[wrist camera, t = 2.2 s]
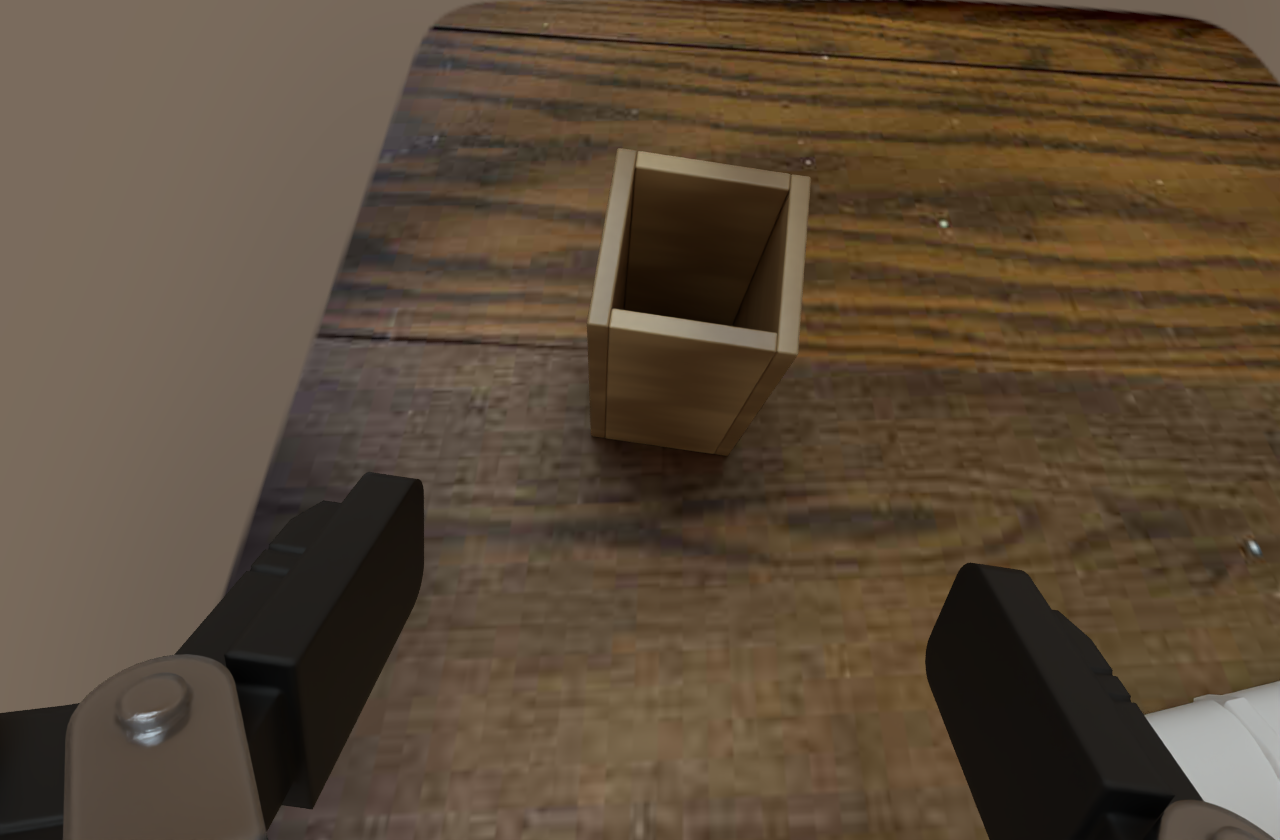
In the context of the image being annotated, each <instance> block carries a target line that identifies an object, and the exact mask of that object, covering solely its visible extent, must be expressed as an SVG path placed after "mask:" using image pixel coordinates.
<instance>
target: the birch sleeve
mask: <svg viewBox="0 0 1280 840" xmlns="http://www.w3.org/2000/svg"><path fill="white" fill-rule="evenodd" d="M810 184H811V179H810V177H806V176H800V175H791V176H790V174H787V173H780V172H773V171H767V170H760V169H754V168H747V167H740V166H734V165H727V164H721V163H714V162H707V161H701V160H694V159H688V158H681V157H674V156H668V155H661V154H655V153H648V152H642V151H639V152H638V153H637V151H635V150H628V149H622V148H618V150H617V154H616V159H615V165H614V171H613V176H612V182H611V188H610V194H609V199H608V205H607V211H606V216H605V222H604V228H603V234H602V239H601V245H600V251H599V256H598V262H597V268H596V274H595V279H594V285H593V291H592V296H591V302H590V308H589V313H588V319H587V340H588V368H589V396H590V423H591V436H594V437H601V438H604V437H605V438H607V439H614V440H621V441H628V442H635V443H642V444H648V445H655V446H662V447H669V448H676V449H683V450H689V451H696V452H703V453H710V454H714V453H715V454H717V455H724V456H728V455H729V454H730V452H731V451H732V449H733V448H734V446H735V445H736V443H737V442H738V441H739V439H740V438H741V436H742V435H743V433H744V432H745V430H746V429H747V428H748V426H749V425H750V423H751V422H752V420H753V419H754V417H755V416H756V415H757V413H758V412H759V410H760V409H761V407H762V406H763V405H764V403H765V402H766V400H767V399H768V397H769V396H770V394H771V393H772V392H773V390H774V389H775V387H776V386H777V384H778V383H779V381H780V380H781V379H782V377H783V376H784V374H785V373H786V371H787V370H788V368H789V367H790V366H791V364H792V363H793V361H794V360H795V358H796V357H797V355H798V349H799V335H800V322H801V308H802V294H803V280H804V266H805V253H806V239H807V225H808V211H809V197H810Z"/></svg>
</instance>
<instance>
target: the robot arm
mask: <svg viewBox="0 0 1280 840" xmlns="http://www.w3.org/2000/svg"><path fill="white" fill-rule="evenodd" d="M423 569H424V490H423V485H422V482H421V481H420V480H419V479H413V478H406V477H399V476H393V475H386V474H379V473H372V472H368V473H366V474H364V475H363V476H362V478H361V479H360V480H359V481H358V483H357V484H356V485H355V487H354V488H353V489H352V490H351V492H350V493H349V494H348V496H347V497H346V498H345V499H344V501H343V502H342V503H337V502H330V501H322V502H320V503H318V504H317V505H315V506H313V507H312V508H310V509H308V510H306V511H305V512H303V513H301V514H300V515H298V516H296V517H294V518H293V519H291V520H290V521H289V522H288V523H287V525H286V526H285V527H284V528H283V529H282V530H281V532H280V533H279V534H278V535H277V536H276V537H275V539H274V540H273V541H272V542H271V543H270V544H269V549H268V550H264V551H263V552H262V554H261V555H260V556H259V557H258V558H257V559H256V561H255V562H254V563H253V564H252V565H251V570H250V571H246V572H245V573H244V575H243V576H242V577H241V578H240V579H239V580H238V582H237V583H236V584H235V585H234V586H233V587H232V588H231V590H230V591H229V592H228V593H227V594H226V595H225V597H224V598H223V599H222V600H221V601H220V602H219V604H218V605H217V606H216V607H215V608H214V609H213V611H212V612H211V613H210V614H209V615H208V616H207V618H206V619H205V620H204V621H203V622H202V623H201V625H200V626H199V627H198V628H197V629H196V631H194V633H193V634H192V635H191V636H190V637H189V638H188V640H187V641H186V642H185V643H184V644H183V645H182V647H181V648H180V649H179V650H178V651H177V652H176V653H175V655H170V656H163V657H159V658H155V659H150V660H148V661H145V662H142V663H138V664H136V665H134V666H131V667H129V668H127V669H124V670H122V671H121V672H119V673H117V674H115V675H113V676H112V677H110V678H108V679H107V680H106V681H104V682H103V683H101V684H100V685H98V686H97V687H96V688H95V689H94V690H93V691H91V692H90V693H89V694H88V695H87V696H86V697H85V698H84V699H83V701H82V702H81V703H78V704H72V705H65V706H57V707H48V708H40V709H32V710H23V711H15V712H6V713H0V840H268V838H267V833H266V832H267V830H268V829H269V827H270V825H271V823H272V821H273V819H274V817H275V816H276V814H277V812H278V810H279V808H280V806H281V805H286V806H293V807H300V808H307V809H313V807H314V805H315V803H316V801H317V799H318V797H319V795H320V793H321V791H322V789H323V787H324V785H325V783H326V781H327V779H328V777H329V775H330V773H331V771H332V769H333V767H334V765H335V763H336V761H337V759H338V757H339V755H340V753H341V751H342V749H343V747H344V745H345V743H346V741H347V739H348V737H349V735H350V733H351V731H352V729H353V727H354V725H355V723H356V721H357V719H358V717H359V715H360V713H361V711H362V709H363V707H364V705H365V703H366V701H367V699H368V697H369V695H370V693H371V691H372V689H373V687H374V685H375V683H376V681H377V679H378V677H379V675H380V673H381V671H382V669H383V667H384V665H385V663H386V661H387V659H388V657H389V655H390V653H391V651H392V649H393V647H394V645H395V643H396V641H397V639H398V637H399V635H400V633H401V631H402V629H403V627H404V625H405V623H406V621H407V619H408V617H409V615H410V613H411V611H412V609H413V607H414V605H415V602H416V600H417V597H418V594H419V590H420V586H421V582H422V577H423ZM925 664H926V674H927V679H928V682H929V685H930V688H931V690H932V693H933V696H934V698H935V701H936V703H937V706H938V708H939V711H940V713H941V716H942V719H943V721H944V724H945V726H946V729H947V731H948V734H949V737H950V739H951V742H952V744H953V747H954V749H955V752H956V755H957V757H958V760H959V762H960V765H961V767H962V770H963V773H964V775H965V778H966V780H967V783H968V785H969V788H970V791H971V793H972V796H973V798H974V801H975V803H976V806H977V808H978V811H979V814H980V816H981V819H982V821H983V824H984V826H985V829H986V832H987V834H988V837H989V839H990V840H1275V839H1274V838H1273V837H1272V836H1270V835H1269V834H1268V833H1266V832H1265V831H1263V830H1262V829H1261V828H1259V827H1258V826H1256V825H1255V824H1253V823H1251V822H1250V821H1248V820H1247V819H1245V818H1243V817H1241V816H1239V815H1238V814H1236V813H1234V812H1232V811H1230V810H1227V809H1225V808H1223V807H1220V806H1218V805H1215V804H1211V803H1208V802H1204V800H1203V799H1202V797H1201V796H1200V795H1199V793H1198V792H1197V790H1196V789H1195V787H1194V786H1193V785H1192V783H1191V782H1190V780H1189V779H1188V777H1187V776H1186V775H1185V773H1184V772H1183V770H1182V769H1181V767H1180V766H1179V765H1178V763H1177V762H1176V760H1175V759H1174V757H1173V756H1172V754H1171V753H1170V752H1169V750H1168V749H1167V747H1166V746H1165V744H1164V743H1163V742H1162V740H1161V739H1160V737H1159V736H1158V734H1157V733H1156V732H1155V730H1154V729H1153V727H1152V726H1151V724H1150V723H1149V722H1148V720H1147V719H1146V717H1145V716H1144V714H1143V713H1142V712H1141V710H1140V709H1139V707H1138V706H1137V704H1136V703H1131V701H1130V697H1131V696H1130V694H1129V693H1128V692H1127V690H1126V689H1125V687H1124V686H1123V684H1122V683H1121V682H1120V680H1119V679H1118V677H1116V676H1113V675H1112V671H1113V670H1112V669H1111V667H1110V666H1109V664H1108V663H1107V662H1106V660H1105V659H1104V657H1103V656H1102V654H1101V653H1100V652H1099V650H1098V649H1097V647H1096V646H1095V644H1094V643H1093V641H1092V640H1091V639H1090V638H1089V637H1088V636H1087V635H1085V634H1084V633H1083V632H1082V631H1081V630H1080V629H1079V628H1077V627H1076V626H1075V625H1074V624H1073V623H1072V622H1071V621H1069V620H1068V619H1067V618H1066V617H1065V616H1064V615H1063V614H1061V613H1060V612H1059V611H1057V610H1052V609H1051V608H1050V606H1049V605H1048V603H1047V602H1046V600H1045V599H1044V597H1043V596H1042V594H1041V593H1040V591H1039V590H1038V588H1037V587H1036V585H1035V584H1034V582H1033V581H1032V579H1031V578H1030V577H1029V575H1028V574H1027V573H1025V572H1024V571H1022V570H1016V569H1010V568H1003V567H996V566H989V565H983V564H976V563H967V564H965V565H964V566H963V567H962V568H961V569H960V570H959V572H958V574H957V576H956V578H955V580H954V583H953V585H952V587H951V590H950V592H949V594H948V596H947V599H946V601H945V603H944V605H943V608H942V610H941V612H940V615H939V617H938V619H937V621H936V624H935V626H934V628H933V631H932V633H931V635H930V638H929V640H928V644H927V649H926V659H925Z"/></svg>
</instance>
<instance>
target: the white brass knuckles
mask: <svg viewBox="0 0 1280 840" xmlns="http://www.w3.org/2000/svg"><path fill="white" fill-rule="evenodd" d="M1144 716H1145V717H1146V719H1147V720H1148V722H1149V723H1150V724H1151V726H1152V727H1153V729H1154V730H1155V732H1156V733H1157V734H1158V736H1159V737H1160V739H1161V740H1162V742H1163V743H1164V744H1165V746H1166V747H1167V749H1168V750H1169V752H1170V753H1171V754H1172V756H1173V757H1174V759H1175V760H1176V762H1177V763H1178V765H1179V766H1180V767H1181V769H1182V770H1183V772H1184V773H1185V775H1186V776H1187V777H1188V779H1189V780H1190V782H1191V783H1192V785H1193V786H1194V787H1195V789H1196V790H1197V792H1198V793H1199V795H1200V796H1201V797H1202V799H1203V800H1204V802H1208V803H1211V804H1215V805H1218V806H1220V807H1223V808H1225V809H1227V810H1230V811H1232V812H1234V813H1236V814H1238V815H1239V816H1241V817H1243V818H1245V819H1247V820H1248V821H1250V822H1251V823H1253V824H1255V825H1256V826H1258V827H1259V828H1261V829H1262V830H1263V831H1265V832H1266V833H1268V834H1269V835H1270V836H1272V837H1273V838H1274V839H1275V840H1280V681H1277V682H1273V683H1269V684H1265V685H1261V686H1257V687H1253V688H1249V689H1245V690H1241V691H1237V692H1233V693H1229V694H1225V695H1212V694H1208V695H1204V696H1200V697H1196V698H1194V702H1193V703H1189V704H1185V705H1181V706H1177V707H1173V708H1169V709H1165V710H1161V711H1157V712H1153V713H1149V714H1145V715H1144Z"/></svg>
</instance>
